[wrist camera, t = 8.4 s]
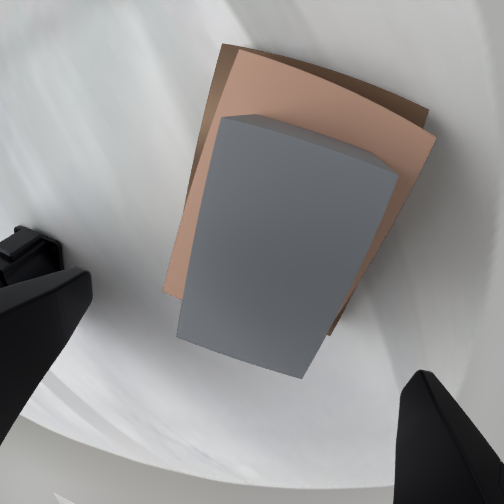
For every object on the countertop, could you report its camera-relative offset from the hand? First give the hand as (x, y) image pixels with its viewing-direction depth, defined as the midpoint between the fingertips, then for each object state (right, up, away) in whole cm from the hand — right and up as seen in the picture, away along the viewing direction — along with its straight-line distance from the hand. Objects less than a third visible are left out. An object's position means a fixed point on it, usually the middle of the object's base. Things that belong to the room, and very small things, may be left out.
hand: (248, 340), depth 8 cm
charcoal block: (+2, +4, +7) cm, 8 cm away
